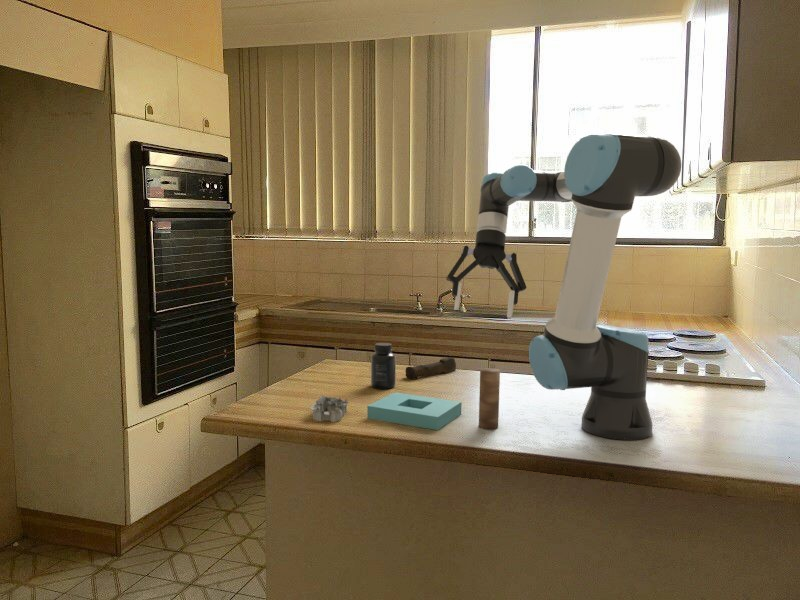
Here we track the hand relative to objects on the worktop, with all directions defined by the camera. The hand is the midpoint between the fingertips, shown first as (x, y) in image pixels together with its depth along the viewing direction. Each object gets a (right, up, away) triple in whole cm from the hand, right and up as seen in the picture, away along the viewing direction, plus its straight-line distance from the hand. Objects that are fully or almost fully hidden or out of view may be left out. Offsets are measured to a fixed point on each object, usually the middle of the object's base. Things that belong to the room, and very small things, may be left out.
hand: (483, 313), depth 167 cm
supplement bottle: (-26, -21, +18) cm, 38 cm away
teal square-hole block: (-17, -24, -9) cm, 31 cm away
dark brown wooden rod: (-11, -20, +34) cm, 41 cm away
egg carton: (-38, -25, -9) cm, 46 cm away
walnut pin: (-1, -25, -16) cm, 30 cm away
